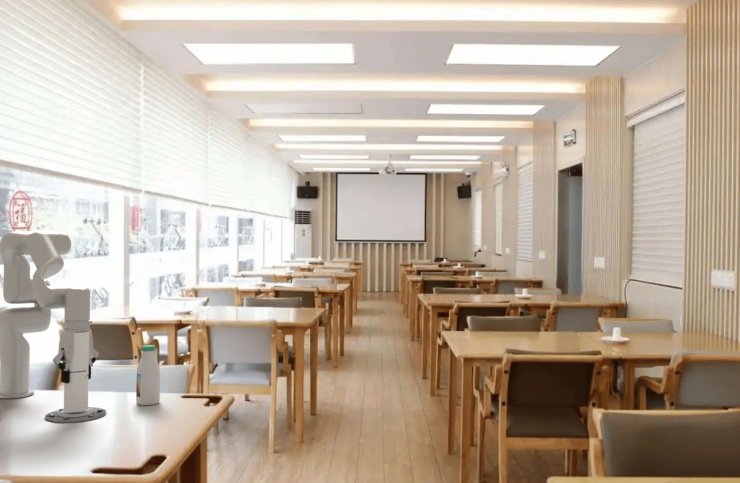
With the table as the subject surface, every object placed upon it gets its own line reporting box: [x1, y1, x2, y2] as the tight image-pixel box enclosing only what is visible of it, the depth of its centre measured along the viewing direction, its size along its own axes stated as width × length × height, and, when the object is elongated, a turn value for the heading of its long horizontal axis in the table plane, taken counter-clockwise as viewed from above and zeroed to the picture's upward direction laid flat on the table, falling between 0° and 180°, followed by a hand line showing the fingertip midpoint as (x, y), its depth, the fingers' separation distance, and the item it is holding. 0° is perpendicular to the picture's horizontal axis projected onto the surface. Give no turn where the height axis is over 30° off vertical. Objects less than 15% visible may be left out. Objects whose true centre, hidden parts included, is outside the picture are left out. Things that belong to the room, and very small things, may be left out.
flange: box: [44, 406, 107, 424], centre depth 217 cm, size 18×18×1 cm
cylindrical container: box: [63, 331, 89, 412], centre depth 217 cm, size 7×7×25 cm
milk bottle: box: [135, 344, 161, 406], centre depth 235 cm, size 8×8×20 cm
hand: (76, 380), depth 217 cm, fingers closed on cylindrical container, 7 cm apart
